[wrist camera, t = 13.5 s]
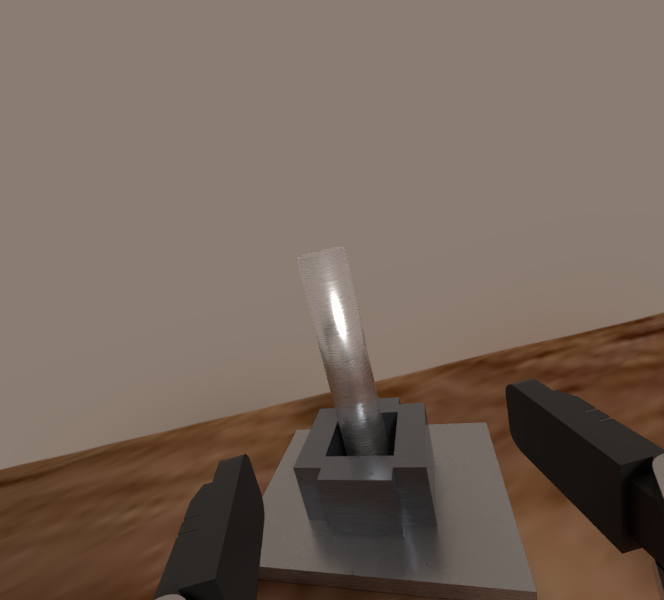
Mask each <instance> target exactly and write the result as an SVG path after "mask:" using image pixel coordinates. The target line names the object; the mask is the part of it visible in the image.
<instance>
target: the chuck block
mask: <svg viewBox="0 0 664 600" xmlns="http://www.w3.org/2000/svg"><path fill="white" fill-rule="evenodd" d="M378 400H379V404H380V409H381V413H382V418H383V422H384V427H385V431H386V436H387V440H388V445H389V449H390V454H391V456H347V453H346V449H345V445H344V442H343V438H342V434H341V430H340V426H339V422H338V418H337V414H336V411H335V408H326V409H320V410H319V412H318V415H317V417H316V419H315V421H314V423H313V425H312V428H311V429H307V430H297V431H296V433H295V435H294V437H293V439H292V441H291V443H290V445H289V446H288V448H287V450H286V452H285V454H284V456H283V458H282V460H281V462H280V464H279V466H278V468H277V470H276V472H275V474H274V476H273V478H272V479H271V481H270V483H269V485H268V487H267V489H266V491H265V493H264V495H263V497H262V498H263V503H264V512H265V520H264V530H263V540H262V549H261V558H260V568H259V577H258V579H262V580H272V581H281V582H291V583H300V584H310V585H320V586H329V587H339V588H348V589H358V590H367V591H377V592H387V593H396V594H406V595H415V596H425V597H434V598H444V599H453V600H537V592H536V589H535V585H534V582H533V579H532V575H531V572H530V569H529V565H528V562H527V558H526V555H525V552H524V548H523V545H522V542H521V538H520V535H519V532H518V528H517V525H516V522H515V518H514V515H513V511H512V508H511V505H510V501H509V498H508V495H507V491H506V488H505V485H504V481H503V478H502V475H501V471H500V468H499V464H498V461H497V458H496V454H495V451H494V448H493V444H492V441H491V438H490V434H489V431H488V428H487V424H486V422H485V423H460V424H434V425H428V420H427V414H426V409H425V403H413V404H401V403H400V398H399V397H396V398H380V399H378Z"/></svg>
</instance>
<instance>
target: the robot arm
mask: <svg viewBox="0 0 664 600" xmlns="http://www.w3.org/2000/svg"><path fill="white" fill-rule="evenodd" d="M506 400H507V409H508V418H509V427H510V432H511V435H512V438H513V440H514V442H515V444H516V445H517V447H518V448H519V449H520V451H521V452H522V453H523V454H524V455H525V456H526V457H527V458H528V459H529V460H530V461H531V462H532V463H533V464H534V465H535V466H536V467H537V468H538V469H539V470H540V471H541V472H542V473H543V474H544V475H545V476H546V477H547V478H548V479H549V480H550V481H551V482H552V483H553V484H554V485H555V486H556V487H557V488H558V489H559V490H560V491H561V492H562V493H563V494H564V495H565V496H566V497H567V498H568V499H569V500H570V501H571V502H572V503H573V504H574V505H575V506H576V507H577V508H578V509H579V510H580V511H581V512H582V513H583V514H584V515H585V516H586V517H587V518H588V519H589V520H590V521H591V522H592V523H593V524H594V525H595V526H596V527H597V529H598V530H599V531H600V532H601V533H602V534H603V535H604V536H605V537H606V538H607V539H608V540H609V541H610V542H611V543H612V544H613V545H614V546H615V547H616V548H617V549H618V550H619V551H620V552H621V553H626V552H629V551H632V550H636V549H639V548H643V549H645V550H646V551H647V552H648V553H649V554H650V555H651V556H652V569H653V573H654V577H655V580H656V584H657V588H658V591H659V595H660V599H661V600H664V450H663V449H662V448H660V447H658V446H657V445H655V444H653V443H652V442H650V441H649V440H647V439H645V438H644V437H642V436H640V435H639V434H637V433H636V432H634V431H632V430H631V429H629V428H627V427H626V426H624V425H623V424H621V423H619V422H618V421H616V420H614V419H610V417H609V416H608V415H606V414H605V413H603V412H601V411H600V410H596V409H595V407H593V406H592V405H590V404H588V403H587V402H585V401H583V400H582V399H580V398H579V397H576V396H573V395H570V394H567V393H564V392H561V391H558V390H556V391H553V390H551V389H550V388H548V387H546V386H545V385H543V384H542V383H540V382H539V381H537V380H535V379H528V380H525V381H521V382H517V383H513V384H510V385H507V387H506ZM264 520H265V512H264V503H263V498H262V495H261V492H260V489H259V486H258V483H257V480H256V477H255V474H254V471H253V468H252V465H251V462H250V459H249V457H248V456H247V455H246V454H244V455H241V456H237V457H233V458H229V459H226V460H222V461H220V462H219V464H218V467H217V470H216V473H215V476H214V479H213V482H212V483H208V484H204V485H203V486H202V487H201V489H200V490H199V491H198V492H197V494H196V495H195V496H194V498H193V499H192V500H191V502H190V504H189V507H188V510H187V512H186V515H185V517H184V522H183V523H182V525H181V528H180V531H179V533H178V538H176V541H175V544H174V546H173V549H172V552H171V554H170V557H169V560H168V562H167V565H166V567H165V570H164V573H163V575H162V578H161V581H160V583H159V586H158V588H157V591H156V594H155V596H154V599H153V600H256V596H257V586H258V577H259V568H260V558H261V549H262V540H263V530H264Z"/></svg>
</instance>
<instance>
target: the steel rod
mask: <svg viewBox="0 0 664 600" xmlns="http://www.w3.org/2000/svg"><path fill="white" fill-rule="evenodd" d="M296 259H297V263H298V267H299V271H300V275H301V278H302V282H303V286H304V290H305V294H306V298H307V302H308V305H309V310H310V314H311V317H312V321H313V325H314V329H315V333H316V337H317V341H318V344H319V349H320V352H321V356H322V360H323V364H324V368H325V372H326V376H327V380H328V383H329V387H330V391H331V395H332V399H333V403H334V407H335V411H336V414H337V418H338V422H339V426H340V430H341V434H342V438H343V442H344V445H345V449H346V453H347V456H391V454H390V449H389V445H388V440H387V436H386V431H385V427H384V422H383V418H382V413H381V409H380V404H379V400H378V395H377V391H376V386H375V382H374V377H373V373H372V368H371V364H370V359H369V355H368V350H367V346H366V341H365V337H364V332H363V328H362V323H361V318H360V314H359V309H358V305H357V300H356V296H355V291H354V287H353V282H352V278H351V274H350V269H349V264H348V260H347V255H346V251H345V247H344V246H339V247H332V248H328V249H323V250H319V251H315V252H311V253H308V254H304V255H301V256H299V257H297V258H296Z"/></svg>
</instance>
